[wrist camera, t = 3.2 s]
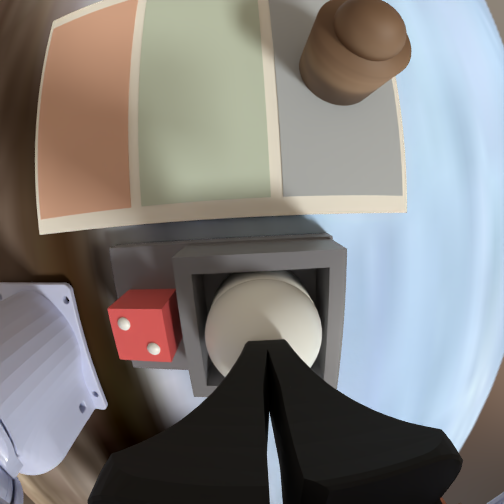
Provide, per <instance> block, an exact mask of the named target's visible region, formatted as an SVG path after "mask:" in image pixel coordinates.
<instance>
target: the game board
mask: <svg viewBox="0 0 504 504" xmlns="http://www.w3.org/2000/svg"><path fill="white" fill-rule="evenodd" d="M328 1H330V0H103V1H100V2H97V3H95V4H92V5H89V6H87V7H84V8H82V9H79V10H77V11H75V12H72V13H70V14H68V15H66V16H63V17H61V18H59V19H57V20H55V21H53V24H52V28H51V32H50V36H49V40H48V45H47V49H46V54H45V59H44V64H43V70H42V76H41V83H40V90H39V98H38V108H37V120H36V138H35V182H36V201H37V213H38V223H39V232H40V235H43V234H51V233H59V232H68V231H77V230H87V229H97V228H107V227H117V226H128V225H140V224H151V223H164V222H177V221H191V220H206V219H222V218H240V217H259V216H281V215H307V214H342V213H407V186H406V163H405V148H404V136H403V126H402V117H401V109H400V102H399V95H398V89H397V83H396V77H395V76H394V77H393V78H392V79H390V80H389V81H388V82H386V83H385V84H384V85H382V86H381V87H380V88H378V89H377V90H376V91H374V92H373V93H372V94H370V95H369V96H368V97H366V98H365V99H364V100H362V101H361V102H359V103H356V104H353V105H348V106H340V105H334V104H331V103H328V102H326V101H323V100H322V99H320V98H318V97H317V96H316V95H314V94H313V93H312V92H311V91H310V90H309V89H308V88H307V86H306V85H305V83H304V82H303V80H302V78H301V75H300V71H299V61H300V57H301V55H302V52H303V49H304V47H305V44H306V42H307V39H308V37H309V34H310V32H311V29H312V26H313V24H314V21H315V19H316V16H317V14H318V12H319V10H320V8H321V7H322V6H323V5H324V4H325V3H326V2H328Z"/></svg>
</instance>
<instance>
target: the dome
mask: <svg viewBox="0 0 504 504" xmlns="http://www.w3.org/2000/svg"><path fill="white" fill-rule="evenodd" d="M277 339H285V340H286V341H287V342H288V343H289V345H290V346H291V347H292V348H293V350H294V351H295V352H296V353H297V354H298V356H299V357H300V358H301V359H302V360H303V361H304V362H305V363H306V364H307V365H308V366H309V367H310V368H311V366H312V364H313V363H314V361H315V360H316V358H317V355H318V353H319V350H320V346H321V340H322V326H321V320H320V317H319V314H318V311H317V309H316V307H315V305H314V303H313V301H312V300H311V298H310V296H309V294H308V292H307V290H306V288H305V286H304V285H303V283H302V282H301V281H300V280H299V279H298V278H297V277H296V276H295V275H294V274H293V273H292V272H290V271H288V270H275V271H256V272H236V273H231V274H230V275H229V276H227V277H226V278H225V279H224V280H223V282H222V283H221V284H220V286H219V287H218V289H217V291H216V293H215V296H214V299H213V302H212V305H211V308H210V311H209V314H208V317H207V321H206V326H205V342H206V347H207V351H208V353H209V356H210V358H211V360H212V362H213V364H214V365H215V367H216V368H217V369H218V371H219V372H220V373H221V374H222V375H223V376H224V377H226V376H227V374H228V373H229V371H230V370H231V368H232V367H233V365H234V364H235V362H236V361H237V359H238V357H239V356H240V354H241V352H242V350H243V348H244V345H245V344H246V343H247V342H248V341H260V340H277Z"/></svg>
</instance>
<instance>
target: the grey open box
mask: <svg viewBox="0 0 504 504" xmlns="http://www.w3.org/2000/svg"><path fill="white" fill-rule="evenodd" d="M109 250H110V257H111V264H112V270H113V276H114V282H115V288H116V294H117V299H118V300H117V301H115V302H114V303H113V304H112V305H111V306H110V307H109V308H108V313H109V318H110V322H111V326H112V330H113V334H114V338H115V342H116V346H117V350H118V353H119V357H120V359H124V360H132V363H133V367H140V368H155V369H178V370H189V374H190V379H191V384H192V389H193V394H194V397H208V396H209V395H210V394H211V393H212V392H213V391H214V390H215V389H216V388H217V387H218V385H219V384H220V383H221V382H222V380H223V379H224V378H225V377H224V376H223V375H222V374H221V373H220V372H219V371H218V369H217V368H216V367H215V365H214V364H213V362H212V360H211V358H210V356H209V353H208V351H207V347H206V342H205V326H206V321H207V317H208V314H209V311H210V308H211V305H212V302H213V299H214V296H215V293H216V291H217V289H218V287H219V286H220V284H221V283H222V282H223V280H224V279H225V278H226V277H227V276H229V275H230V274H231V273H236V272H256V271H275V270H288V271H290V272H292V273H293V274H294V275H295V276H296V277H297V278H298V279H299V280H300V281H301V282H302V283H303V285H304V286H305V288H306V290H307V292H308V294H309V296H310V298H311V300H312V301H313V303H314V305H315V307H316V309H317V311H318V314H319V317H320V320H321V326H322V340H321V346H320V350H319V353H318V355H317V358H316V360H315V361H314V363H313V364H312V366H311V369H312V370H313V371H314V372H315V373H316V374H317V375H318V376H320V377H321V378H322V379H323V380H324V381H326V382H327V383H328V384H329V385H331V386H332V387H333V388H335V389H337V383H338V375H339V367H340V357H341V347H342V336H343V324H344V310H345V292H346V266H347V249H346V248H345V247H343V246H342V245H340V244H338V243H337V242H335V241H334V240H333V238H332V236H331V235H330V234H328V233H319V234H296V235H274V236H254V237H235V238H216V239H199V240H182V241H165V242H150V243H134V244H120V245H116V246H113V247H111V248H109Z"/></svg>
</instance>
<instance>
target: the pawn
mask: <svg viewBox="0 0 504 504" xmlns="http://www.w3.org/2000/svg"><path fill="white" fill-rule="evenodd" d="M410 58H411V45H410V41H409V38H408V35H407V33H406V27H405V24H404V21H403V19H402V18H401V16H400V14H399V13H398V12H397V11H396V10H395V9H394V8H393V7H392V6H391V5H389V4H388V3H386V2H384V1H382V0H330V1H328V2H326V3H325V4H324V5H323V6H322V7H321V8H320V10H319V12H318V14H317V16H316V19H315V21H314V24H313V26H312V29H311V32H310V34H309V37H308V39H307V42H306V44H305V47H304V49H303V52H302V55H301V57H300V61H299V71H300V75H301V78H302V80H303V82H304V83H305V85H306V86H307V88H308V89H309V90H310V91H311V92H312V93H313V94H314V95H316V96H317V97H318V98H320V99H322V100H323V101H326V102H328V103H331V104H334V105H340V106H348V105H353V104H356V103H359V102H361V101H362V100H364V99H365V98H366V97H368V96H369V95H370V94H372V93H373V92H374V91H376V90H377V89H378V88H380V87H381V86H382V85H384V84H385V83H386V82H388V81H389V80H390V79H392V78H393V77H394V76H396V75H397V74H399V73H400V72H401V71H403V70H404V69H405V68H406V66H407V65H408V63H409V61H410Z"/></svg>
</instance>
